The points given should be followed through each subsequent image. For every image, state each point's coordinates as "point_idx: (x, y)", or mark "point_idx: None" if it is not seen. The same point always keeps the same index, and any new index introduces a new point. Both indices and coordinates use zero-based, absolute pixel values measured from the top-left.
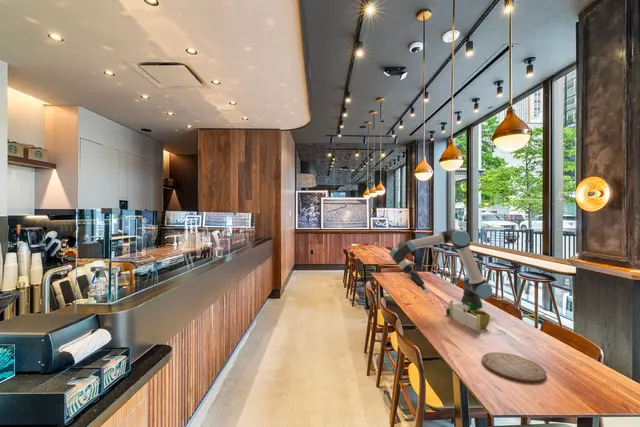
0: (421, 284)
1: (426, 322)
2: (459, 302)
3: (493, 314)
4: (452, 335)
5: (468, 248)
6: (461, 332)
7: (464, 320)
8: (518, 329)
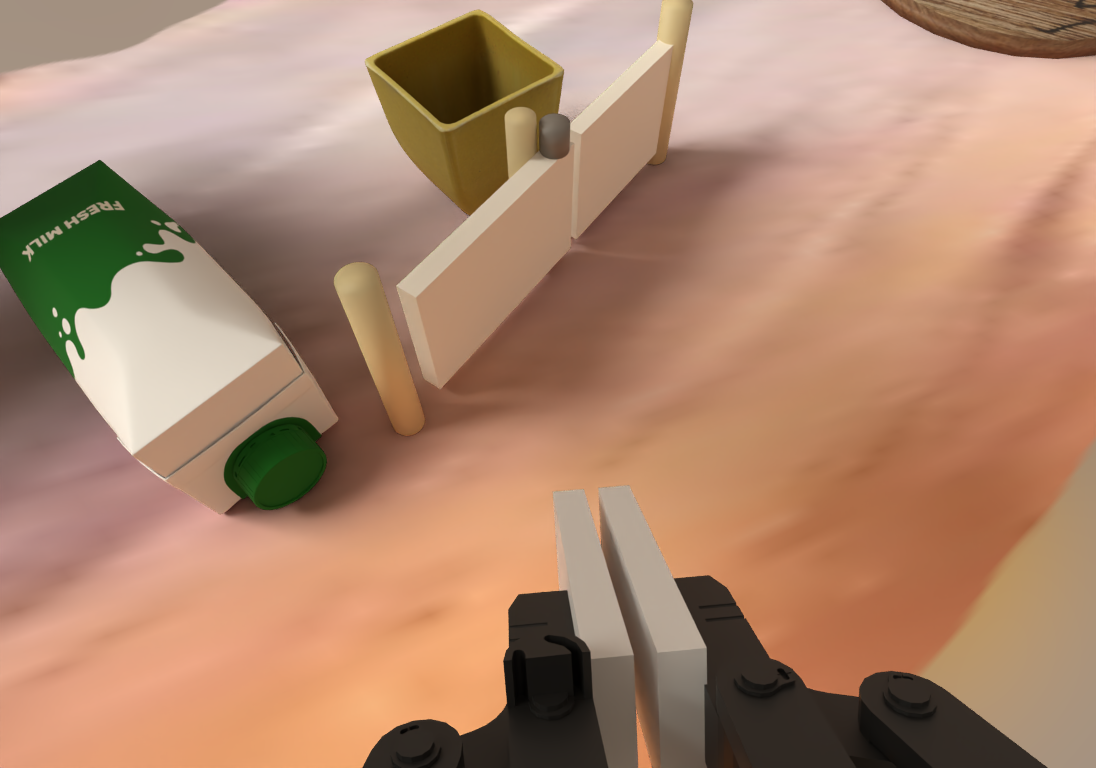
0: (788, 680)
1: (813, 575)
2: (121, 300)
3: (2, 186)
4: (897, 260)
5: None
6: (756, 235)
7: (567, 222)
8: (341, 29)
